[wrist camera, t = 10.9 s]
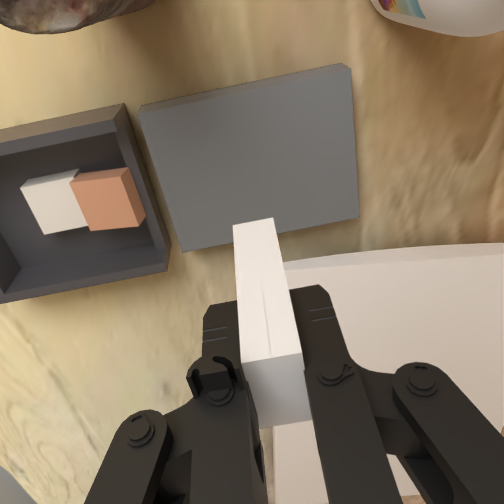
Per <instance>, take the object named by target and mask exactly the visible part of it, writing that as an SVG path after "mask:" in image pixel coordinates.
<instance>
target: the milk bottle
mask: <svg viewBox="0 0 504 504" xmlns="http://www.w3.org/2000/svg"><path fill="white" fill-rule="evenodd" d="M370 1H371V2H372V4H373V6H374V7H375V8H376V10H377V11H378V12H379V13H380V14H382V15H383V16H384V17H386V18H388V19H390V20H393V21H395V22H398V23H402V24H406V25H409V26H413V27H417V28H421V29H425V30H429V31H433V32H437V33H441V34H446V35H452V36H459V37H479V36H485V35H490V34H494V33H497V32H500V31H503V30H504V0H370Z"/></svg>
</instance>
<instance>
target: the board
mask: <svg viewBox="0 0 504 504" xmlns="http://www.w3.org/2000/svg"><path fill="white" fill-rule="evenodd" d="M283 266H284V271H285V275H286V280H287V285H288V289H289V290H290V289H295V288H301V287H306V286H311V285H317V284H319V285H320V286H322V287H323V288H324V289H325V290H326V291H327V292H328V293H329V295H330V298H331V301H332V304H333V308H334V310H335V313H336V317H337V319H338V322H339V325H340V328H341V331H342V334H343V337H344V340H345V343H346V346H347V349H348V352H349V354H350V356H351V358H352V359H353V360H354V361H355V362H356V363H357V364H358V365H360V366H361V367H363V368H365V369H368V370H370V371H375V372H382V373H392V374H395V372H396V370H397V369H398V368H400V367H401V366H403V365H404V364H407V363H412V362H424V363H429V364H431V365H434V366H436V367H438V368H440V369H441V370H442V371H443V372H445V373H446V374H447V375H448V376H449V377H450V378H451V380H452V381H453V382H454V383H455V384H456V385H457V386H458V387H459V388H460V390H461V391H462V392H463V393H464V394H465V395H466V396H467V397H468V398H469V399H470V401H471V402H472V403H473V404H474V405H475V406H476V407H477V408H478V409H479V411H480V412H481V413H482V414H483V415H484V416H485V417H486V418H487V419H488V421H489V422H490V423H491V424H492V425H493V426H494V427H495V428H496V429H497V430H498V432H499V433H501V431H502V428H503V426H504V243H478V244H455V245H436V246H421V247H407V248H395V249H384V250H374V251H364V252H355V253H346V254H338V255H330V256H323V257H315V258H308V259H301V260H295V261H288V262H283ZM272 428H273V464H274V494H275V504H324V503H329V501H328V496H327V491H326V486H325V481H324V477H323V472H322V467H321V462H320V457H319V454H318V448H317V442H316V437H315V431H314V425H313V420H309V421H303V422H298V423H292V424H286V425H280V426H274V427H272ZM387 457H388V460H389V463H390V466H391V469H392V472H393V475H394V478H395V481H396V484H397V487H398V490H399V493H400V496H408V495H418V494H420V493H419V491H418V490H417V488H416V487H415V485H414V484H413V482H412V480H411V479H410V477H409V476H408V474H407V473H406V471H405V470H404V468H403V466H402V465H401V463H400V462H399V460H398V459H397V457H396V455H390V454H387Z"/></svg>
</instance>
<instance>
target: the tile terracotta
mask: <svg viewBox="0 0 504 504" xmlns="http://www.w3.org/2000/svg"><path fill="white" fill-rule="evenodd" d="M69 184H70V186H71V189H72V191H73V193H74V195H75V198H76V200H77V202H78V204H79V206H80V209H81V211H82V213H83V215H84V218H85V220H86V222H87V224H88V227H89V229H90V231H95V230H105V229H116V228H126V227H136V226H139V225H140V224H141V222H142V221H143V220H144V218H145V217H146V213H145V211H144V208H143V205H142V202H141V200H140V197H139V194H138V191H137V189H136V186H135V183H134V180H133V178H132V175H131V172H130V169H129V167H126V168H118V169H111V170H103V171H95V172H88V173H80V174H78V175H77V176H76V177H75V178H74V179H73V180H72V181H71V182H69Z"/></svg>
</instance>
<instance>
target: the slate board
mask: <svg viewBox="0 0 504 504" xmlns="http://www.w3.org/2000/svg"><path fill="white" fill-rule="evenodd" d="M137 116H138V119H139V122H140V125H141V128H142V131H143V134H144V137H145V140H146V143H147V146H148V149H149V152H150V156H151V159H152V162H153V165H154V168H155V171H156V174H157V177H158V180H159V183H160V186H161V189H162V192H163V195H164V198H165V201H166V205H167V208H168V211H169V214H170V217H171V220H172V223H173V226H174V229H175V232H176V235H177V238H178V241H179V244H180V247H181V251H182V253H183V252H188V251H193V250H198V249H203V248H209V247H214V246H219V245H224V244H229V243H234V239H233V225H236V224H242V223H247V222H252V221H257V220H262V219H268V218H273V220H274V224H275V229H276V234H279V233H284V232H289V231H294V230H299V229H304V228H309V227H314V226H319V225H324V224H329V223H334V222H339V221H344V220H349V219H354V218H359V217H360V213H359V197H358V180H357V164H356V148H355V131H354V115H353V98H352V82H351V69H350V68H348V67H347V66H346V65H344V64H343V63H339V64H334V65H329V66H325V67H320V68H315V69H310V70H306V71H301V72H296V73H292V74H287V75H282V76H278V77H273V78H268V79H263V80H259V81H254V82H249V83H245V84H240V85H235V86H231V87H226V88H221V89H216V90H212V91H207V92H202V93H198V94H193V95H188V96H184V97H179V98H174V99H169V100H165V101H160V102H155V103H151V104H146V105H142V106H141V108H140V110H139V112H138V114H137Z"/></svg>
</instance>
